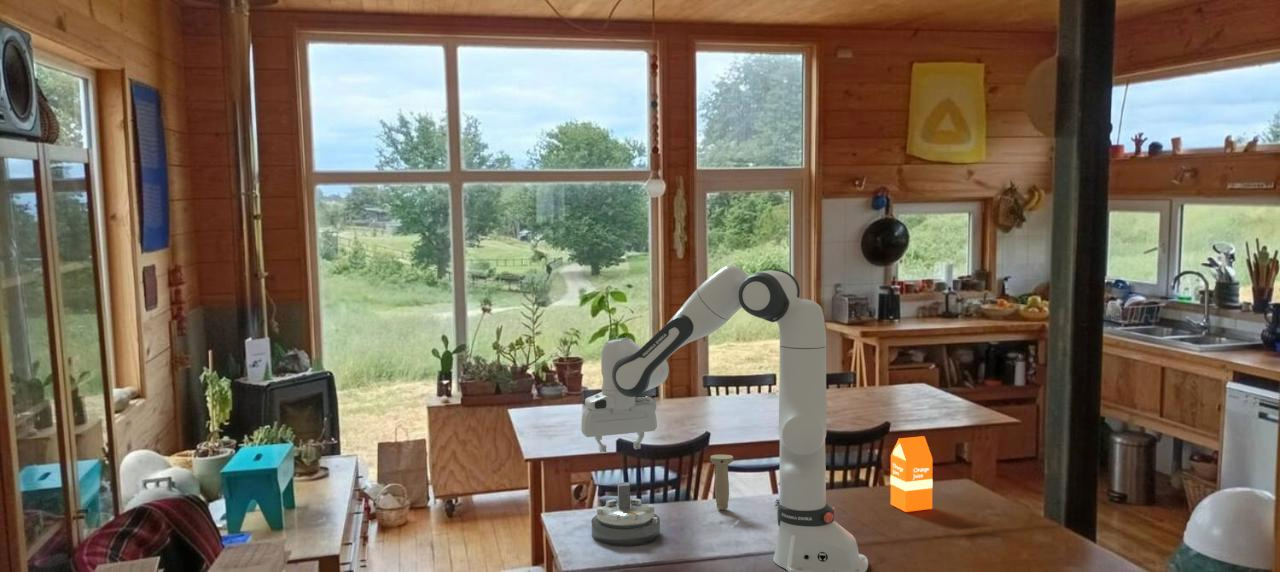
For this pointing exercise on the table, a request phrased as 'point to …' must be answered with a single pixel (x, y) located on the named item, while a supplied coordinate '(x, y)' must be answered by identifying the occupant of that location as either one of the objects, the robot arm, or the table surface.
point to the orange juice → (911, 475)
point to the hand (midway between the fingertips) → (620, 450)
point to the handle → (722, 479)
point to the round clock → (625, 511)
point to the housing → (626, 533)
